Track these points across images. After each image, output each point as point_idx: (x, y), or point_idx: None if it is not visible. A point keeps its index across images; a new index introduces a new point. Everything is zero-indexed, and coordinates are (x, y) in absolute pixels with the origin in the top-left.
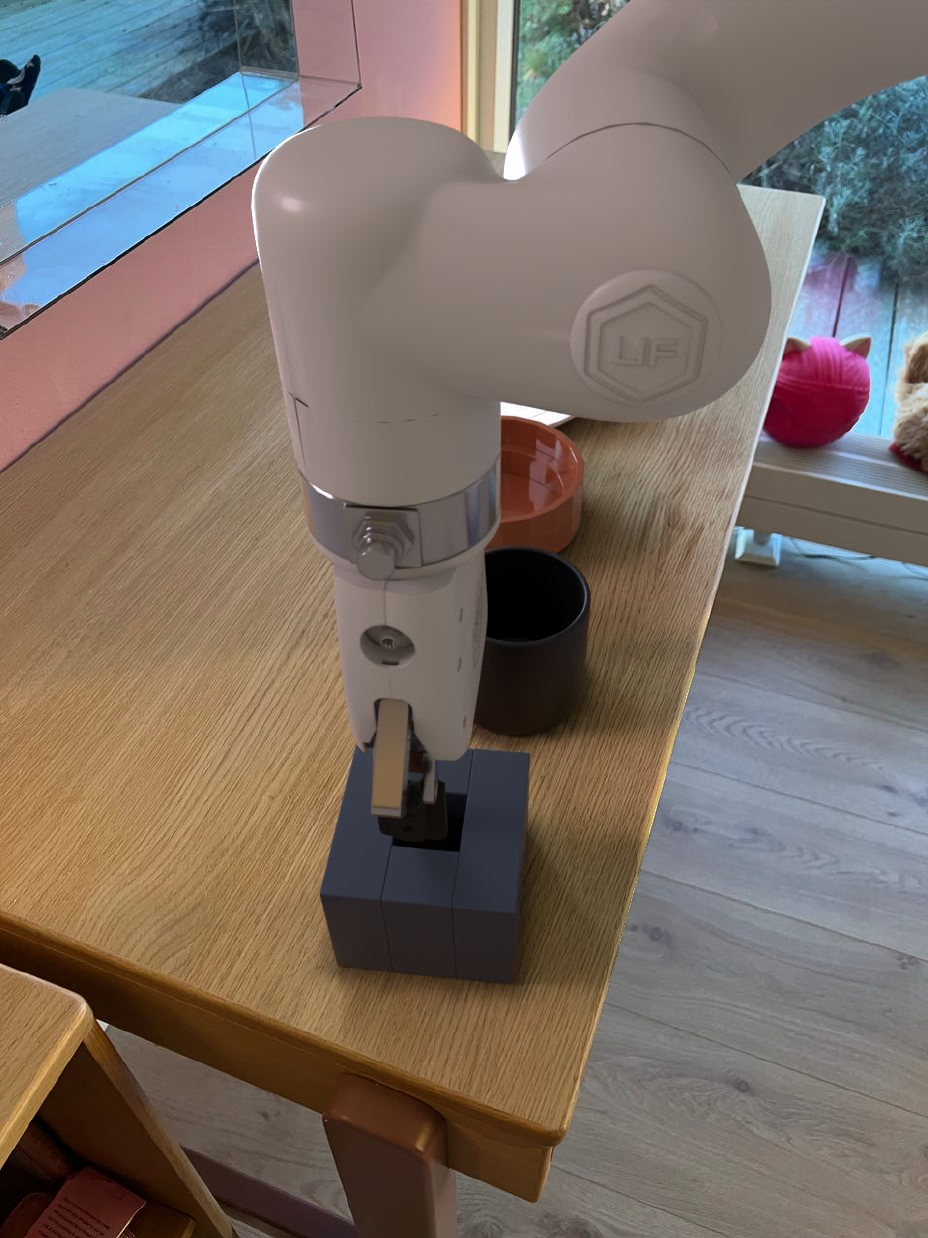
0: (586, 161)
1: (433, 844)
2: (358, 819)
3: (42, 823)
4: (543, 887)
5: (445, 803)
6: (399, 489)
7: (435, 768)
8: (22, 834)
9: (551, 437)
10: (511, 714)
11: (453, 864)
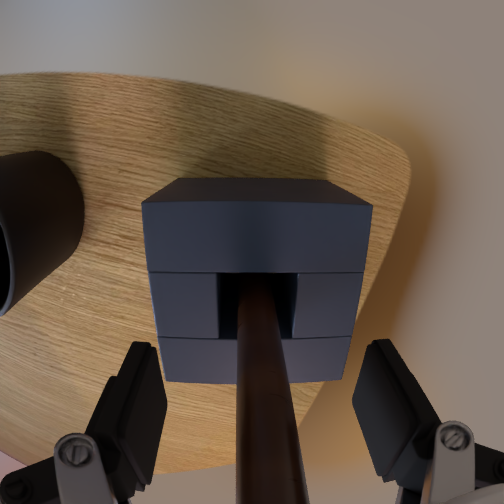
0: None
1: (271, 292)
2: None
3: (227, 456)
4: (235, 158)
5: (410, 387)
6: None
7: (467, 476)
8: (235, 460)
9: None
10: (70, 213)
11: (315, 277)
